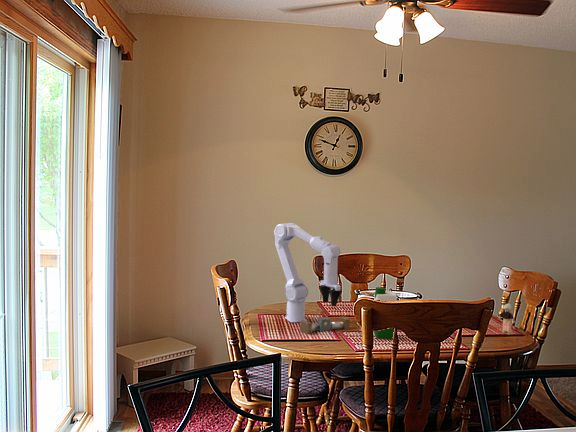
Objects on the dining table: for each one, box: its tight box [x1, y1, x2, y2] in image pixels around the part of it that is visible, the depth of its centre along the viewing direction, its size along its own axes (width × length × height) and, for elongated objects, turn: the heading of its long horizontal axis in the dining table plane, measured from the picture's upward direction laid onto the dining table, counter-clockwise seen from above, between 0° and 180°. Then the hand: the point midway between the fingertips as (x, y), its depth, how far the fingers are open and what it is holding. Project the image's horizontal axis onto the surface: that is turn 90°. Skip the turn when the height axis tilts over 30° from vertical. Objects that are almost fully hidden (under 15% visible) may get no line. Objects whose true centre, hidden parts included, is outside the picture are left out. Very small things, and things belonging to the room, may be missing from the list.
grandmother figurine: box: [498, 303, 516, 335], centre depth 247 cm, size 8×4×13 cm, turn 46°
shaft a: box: [330, 316, 350, 331], centre depth 248 cm, size 8×5×4 cm, turn 109°
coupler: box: [317, 316, 331, 332], centre depth 246 cm, size 4×4×5 cm
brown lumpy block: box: [299, 321, 320, 335], centre depth 243 cm, size 8×5×4 cm, turn 129°
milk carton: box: [373, 286, 398, 340], centre depth 237 cm, size 9×9×20 cm
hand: (329, 304), depth 251 cm, fingers open, 7 cm apart
